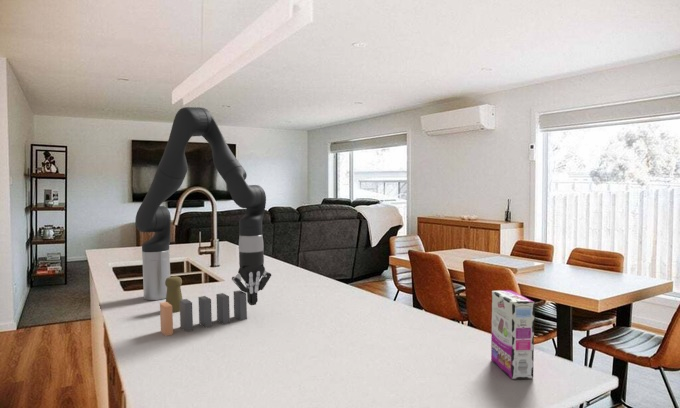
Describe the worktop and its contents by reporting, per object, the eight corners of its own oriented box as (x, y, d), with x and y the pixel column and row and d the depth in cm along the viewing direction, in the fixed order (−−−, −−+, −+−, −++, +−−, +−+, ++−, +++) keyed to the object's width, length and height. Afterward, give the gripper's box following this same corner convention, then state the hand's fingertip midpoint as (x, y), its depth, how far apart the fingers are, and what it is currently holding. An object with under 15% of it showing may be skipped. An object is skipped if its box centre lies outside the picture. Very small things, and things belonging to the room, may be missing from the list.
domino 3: (217, 320, 141) (216, 294, 141) (223, 318, 142) (222, 293, 142) (223, 324, 137) (222, 297, 137) (229, 322, 138) (229, 296, 138)
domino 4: (234, 316, 144) (233, 291, 144) (240, 315, 146) (239, 290, 145) (240, 320, 140) (240, 294, 140) (247, 319, 142) (246, 293, 141)
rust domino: (160, 331, 132) (159, 303, 131) (168, 329, 133) (167, 301, 132) (165, 335, 127) (164, 306, 127) (173, 334, 129) (172, 305, 128)
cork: (177, 313, 149) (176, 279, 149) (160, 312, 151) (159, 278, 150) (187, 307, 155) (186, 275, 155) (171, 307, 156) (170, 274, 156)
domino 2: (199, 323, 138) (198, 296, 138) (205, 322, 139) (205, 295, 139) (205, 327, 134) (204, 300, 134) (211, 326, 135) (211, 299, 135)
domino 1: (180, 327, 135) (179, 300, 134) (187, 325, 136) (186, 298, 136) (185, 331, 131) (185, 303, 130) (192, 330, 132) (192, 302, 131)
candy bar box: (535, 379, 97) (536, 301, 96) (512, 380, 96) (512, 302, 96) (511, 358, 108) (511, 288, 107) (490, 359, 108) (490, 289, 107)
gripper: (236, 253, 137) (237, 311, 138) (276, 248, 145) (277, 303, 146) (226, 250, 144) (227, 305, 144) (264, 246, 151) (266, 298, 152)
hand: (252, 304), depth 145 cm, fingers closed
